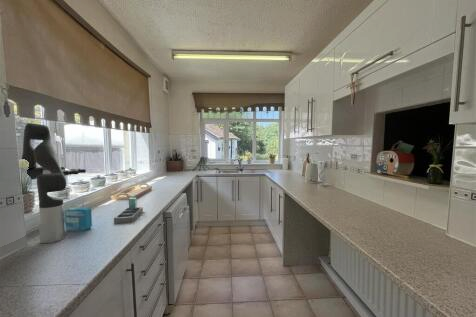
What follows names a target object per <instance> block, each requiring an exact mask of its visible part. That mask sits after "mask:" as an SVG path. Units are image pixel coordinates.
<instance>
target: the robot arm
mask: <svg viewBox="0 0 476 317" xmlns="http://www.w3.org/2000/svg"><path fill="white" fill-rule="evenodd" d="M22 139H23V140H22V142H23V143H22V144H23V145H22V154H21V159H25V160H27V161H28V162H29V167H28V168H29V169H28V170H27V174H28V175H29V176H30V177H31V179H32V180H36V188H37V193H38V208H39V211H38V212H39V225H38V230H39V244H54V243H56V242H58V241H61V240H64V239H65V237H66V228H65V210H64V199H63V198H61V197H56V196H51V195H49V194H48V193H54V192H60V191H64V190H65V189H66V187H67V180H66V176H72V175H79V174H81V173H82V174H84V173H86V172H87V171H86V169H82V168H65V166H62V165H60V162H59V159H58V154H57V151H56V149H55V146H54V143H53V139H52V134H51V129H50V127H49V125H46V124H40V123H39V124H38V123H30V122H28V123H27V124H25V126H24V129H23V138H22ZM31 140H34V141H35V140H36V141H41V142H40V143H39V144H38V145H37V146H36V147H34V145H33V144H32V142H31ZM37 165H38V166H39V167H37Z"/></svg>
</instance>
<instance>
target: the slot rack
mask: <svg viewBox="0 0 476 317" xmlns="http://www.w3.org/2000/svg"><path fill="white" fill-rule="evenodd" d="M143 208H144V207H143V206H141V207H139V206H137V210H129V207H126V208H125V209H124V210H122V211H121V212H120V213H119V214H117V215H116V216H114V217H113V224H126V223H127V224H129V223H134V221H135V220H137V219H138V218H139V216H140V215H142V214H143V213H144V212H143V211H144V209H143Z"/></svg>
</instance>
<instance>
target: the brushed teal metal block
mask: <svg viewBox="0 0 476 317" xmlns="http://www.w3.org/2000/svg"><path fill="white" fill-rule="evenodd" d="M137 198H138V197H129V198H128V208H129V210H137V207H138V205H137V204H138V203H137V202H138V201H137Z"/></svg>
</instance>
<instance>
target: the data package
mask: <svg viewBox="0 0 476 317" xmlns="http://www.w3.org/2000/svg"><path fill="white" fill-rule="evenodd" d="M92 217H93V216H92V208H91V207H89V206H88V207H87V206H86V207H85V206H84V207H81V206H80V207H77V206H76V207H70V208H68V209H65V210H64V227H65V231H68V232H69V231H74V232H75V231H76V232H79V231H80V232H83V231H87V230H89V229H91V227H93V219H92Z"/></svg>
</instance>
